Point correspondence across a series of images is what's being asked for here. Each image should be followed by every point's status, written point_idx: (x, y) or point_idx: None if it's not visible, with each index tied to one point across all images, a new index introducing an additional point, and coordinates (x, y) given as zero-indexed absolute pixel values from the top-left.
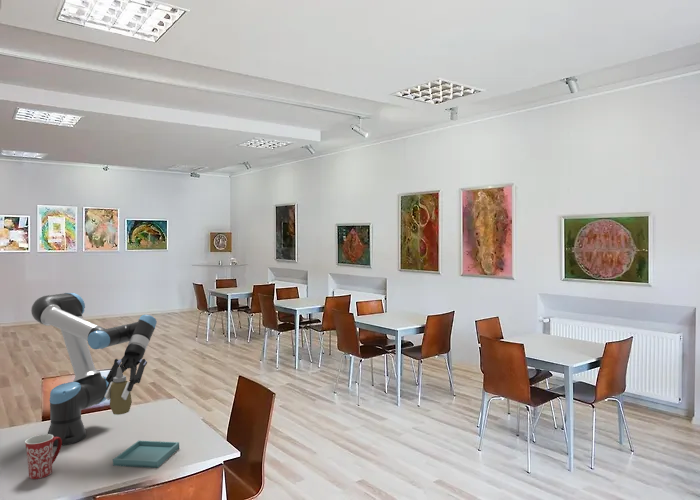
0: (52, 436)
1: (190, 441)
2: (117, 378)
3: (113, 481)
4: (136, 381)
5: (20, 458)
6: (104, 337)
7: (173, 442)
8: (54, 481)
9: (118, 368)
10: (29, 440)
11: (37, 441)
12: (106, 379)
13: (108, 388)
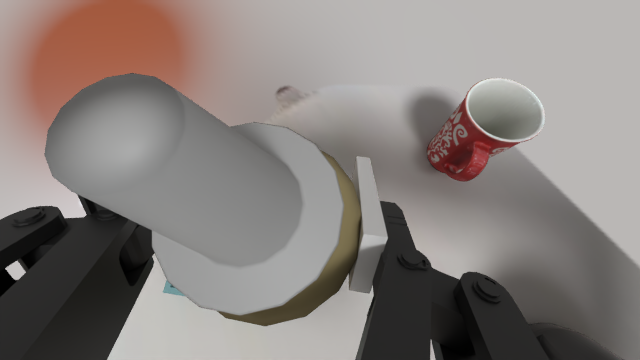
0: (478, 125)
1: (147, 343)
2: (251, 126)
3: (279, 125)
4: (67, 228)
5: (571, 238)
6: None
7: (179, 291)
8: (396, 127)
9: (147, 79)
10: (534, 114)
11: (518, 137)
12: (482, 277)
13: (371, 188)
